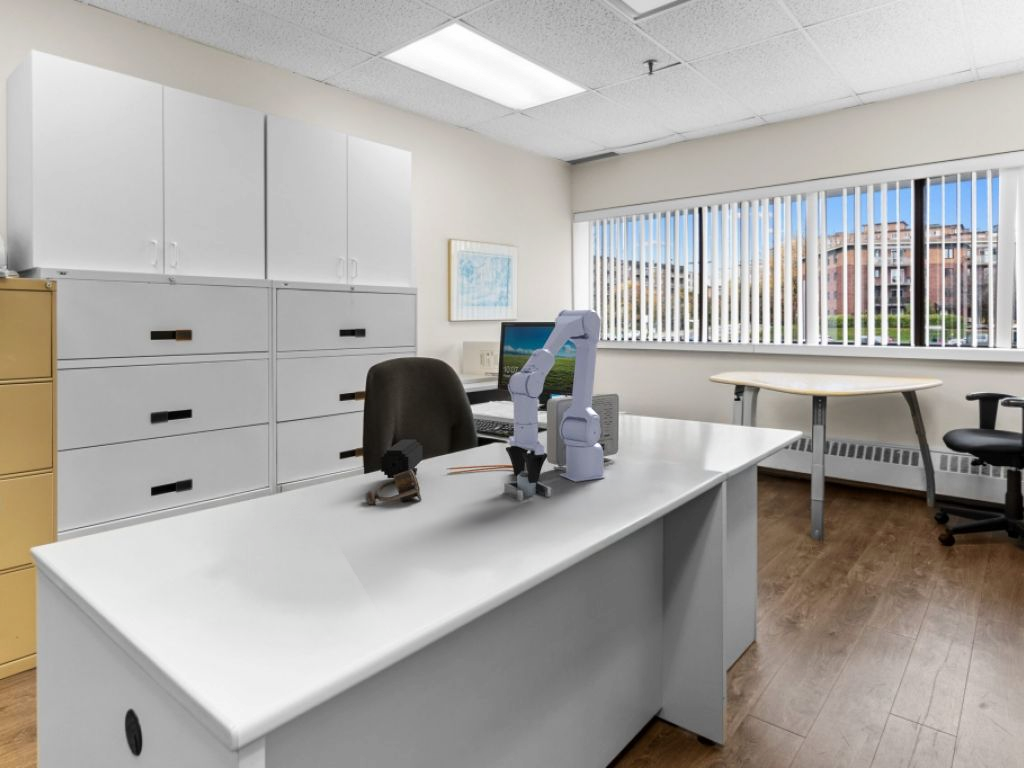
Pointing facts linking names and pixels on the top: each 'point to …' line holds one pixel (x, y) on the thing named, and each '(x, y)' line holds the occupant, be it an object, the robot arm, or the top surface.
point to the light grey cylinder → (525, 484)
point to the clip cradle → (513, 491)
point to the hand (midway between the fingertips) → (526, 479)
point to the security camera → (401, 458)
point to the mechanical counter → (405, 487)
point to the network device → (601, 404)
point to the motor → (483, 468)
